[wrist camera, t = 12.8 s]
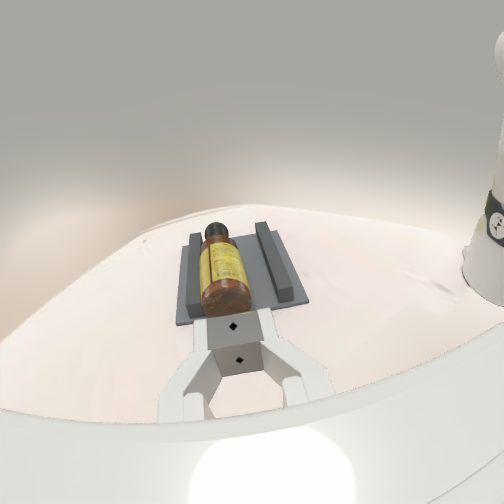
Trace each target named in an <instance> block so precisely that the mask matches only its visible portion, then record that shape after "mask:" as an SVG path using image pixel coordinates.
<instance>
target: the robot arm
mask: <svg viewBox="0 0 504 504" xmlns="http://www.w3.org/2000/svg"><path fill="white" fill-rule="evenodd" d="M494 58H495V67H496V71H497V75H498V77H499V80H500V82H501V84H502V85H503V87H504V32H503V33H502V34H501V35H500V36H499V38H498V40H497V43H496V46H495V55H494ZM463 255H464V258H465V259H464V262H463V265H462V271H463V275H464V277H465V279H466V281H467V282H468V284H469V285H470V286H471V287H472V289H473V290H474V291H475V292H477V293H478V294H479V295H480V296H481V297H483V298H484V299H486V300H488V301H489V302H491V303H493V304H496V305H498V306H502V307H504V115H503V123H502V129H501V135H500V139H499V146H498V154H497V162H496V169H495V175H494V181H493V186H492V189H491V190H490V191H489V194H488V197H487V200H486V207H485V214H484V215H483V216H480V218H479V220H478V223H477V226H476V228H475V231H474V234H473V237H472V239H471V242H470V245H469V246H465V247H464V250H463ZM193 349H194V352H191V353H189V355H188V356H187V357H186V359H185V360H184V361H183V363H182V364H181V365H180V367H179V368H178V369H177V371H176V372H175V373H174V375H173V376H172V378H171V379H170V380H169V382H168V383H167V384H166V386H165V387H164V388H163V390H162V391H161V392H160V394H159V399H158V419H157V423H103V422H87V421H75V420H66V419H57V418H50V417H43V416H37V415H31V414H25V413H20V412H15V411H11V410H6V409H1V408H0V504H504V323H499V324H497V325H495V326H494V327H492V328H490V329H489V330H487V331H486V332H484V333H482V334H480V335H478V336H477V337H475V338H473V339H471V340H470V341H467V342H466V343H464V344H462V345H460V346H458V347H456V348H454V349H452V350H450V351H448V352H446V353H444V354H442V355H439V356H438V357H435V358H433V359H431V360H429V361H426V362H424V363H422V364H420V365H417V366H415V367H413V368H410V369H408V370H405V371H403V372H400V373H398V374H395V375H393V376H390V377H387V378H384V379H382V380H379V381H376V382H373V383H371V384H367V385H364V386H362V387H358V388H355V389H352V390H349V391H346V392H342V393H339V394H336V392H335V389H334V387H333V384H332V381H331V379H330V376H329V373H328V371H327V368H326V367H325V366H323V365H322V364H320V363H319V362H317V361H316V360H314V359H313V358H311V357H310V356H309V355H307V354H306V353H304V352H303V351H301V350H300V349H299V348H297V347H296V346H294V345H293V344H292V343H290V342H289V341H287V340H286V339H285V338H283V337H281V338H279V336H278V333H277V329H276V326H275V323H274V319H273V316H272V312H271V309H270V308H264V309H259V310H254V311H249V312H244V313H238V314H233V315H227V316H220V317H213V318H207V319H200V320H194V325H193ZM261 370H264V371H265V372H266V373H267V374H268V375H269V376H270V377H271V378H272V379H273V380H274V381H275V382H276V383H278V384H279V385H280V386H281V387H282V388H283V406H284V407H283V408H279V409H274V410H268V411H263V412H257V413H251V414H245V415H239V416H232V417H224V418H216V419H215V417H214V415H213V413H212V412H211V410H210V408H209V406H208V405H209V403H210V401H211V399H212V397H213V395H214V393H215V391H216V389H217V387H218V386H219V384H220V382H221V380H222V377H225V376H231V375H236V374H242V373H248V372H255V371H261Z"/></svg>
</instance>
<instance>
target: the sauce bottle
mask: <svg viewBox="0 0 504 504" xmlns="http://www.w3.org/2000/svg"><path fill="white" fill-rule="evenodd" d="M228 235H229V233H228V230H227V228H226V226H225V225H224V224H222V223H219V222H214V223H211V224H210V225H208V226H207V228H206V230H205V239H206V240H205V242H204V243H203V244H202V246H201V248H200V260H199V265H200V292H201V304H202V306H203V310H204V313H205V314H206V316H207V317H208V318H213V317H220V316H227V315H233V314H238V313H244V312H249V311H250V309H251V304H252V303H251V292H250V288H249V284H248V280H247V277H246V273H245V269H244V266H243V262H242V258H241V255H240V253H239V250H238V248H237V245H236V242H235V241H234V240H233V239H230V238H228Z"/></svg>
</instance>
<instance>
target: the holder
mask: <svg viewBox="0 0 504 504" xmlns="http://www.w3.org/2000/svg"><path fill="white" fill-rule="evenodd" d="M255 228H256V234H251V235H245V236H239V237H233V238H230V239H233V240H234V241H235V242H236V245H237V248H238V250H239V253H240V255H241V258H242V262H243V266H244V269H245V273H246V277H247V280H248V284H249V288H250V292H251V303H252V304H251V309H250V311H254V310H259V309H264V308H270V309H271V310H276V309H281V308H286V307H291V306H296V305H301V304H306V303H309V299H308V297H307V295H306V293H305V290H304V288H303V286H302V284H301V282H300V279H299V277H298V275H297V273H296V271H295V268H294V266H293V264H292V262H291V260H290V258H289V255H288V253H287V251H286V249H285V247H284V245H283V243H282V240H281V238H280V236H279V234H278V232H277V230H275V231H270V230H269V228H268V225H267V223H266V221H265V222H258V223H255ZM202 244H203V241H202V236H201V232H199V233H194V234H190V239H189V245H187V246H183V247H182V256H181V265H180V275H179V286H178V298H177V311H176V325H177V326H179V325H186V324H193V323H194V320H200V319H207V318H208V317H207V316H206V314H205V313H204V310H203V306H202V304H201V292H200V265H199V260H200V248H201V246H202Z"/></svg>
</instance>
